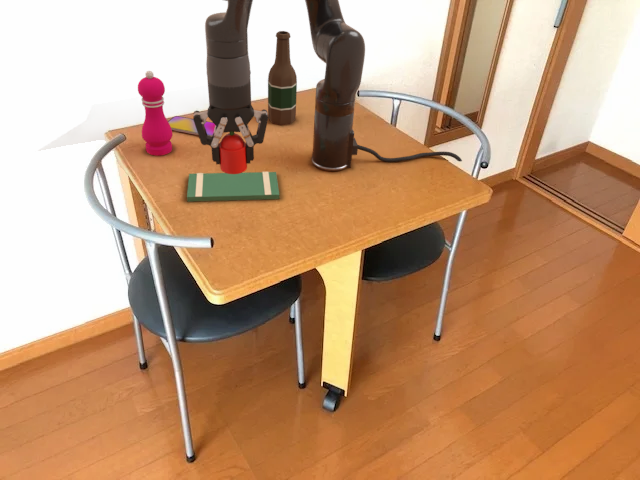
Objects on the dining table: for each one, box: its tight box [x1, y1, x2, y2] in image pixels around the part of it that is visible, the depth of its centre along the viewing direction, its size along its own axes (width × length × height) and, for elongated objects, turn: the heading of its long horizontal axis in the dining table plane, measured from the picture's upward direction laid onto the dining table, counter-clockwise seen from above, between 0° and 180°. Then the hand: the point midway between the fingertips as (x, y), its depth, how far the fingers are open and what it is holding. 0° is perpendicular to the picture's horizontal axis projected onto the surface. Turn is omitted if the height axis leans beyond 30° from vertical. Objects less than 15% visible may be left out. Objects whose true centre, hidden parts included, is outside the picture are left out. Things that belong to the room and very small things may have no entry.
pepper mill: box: [137, 70, 173, 157], centre depth 131 cm, size 7×7×20 cm
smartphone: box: [167, 115, 216, 137], centre depth 148 cm, size 7×1×15 cm
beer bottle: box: [267, 30, 298, 126], centre depth 148 cm, size 8×8×24 cm
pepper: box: [219, 131, 248, 174], centre depth 106 cm, size 5×5×8 cm
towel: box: [186, 171, 280, 203], centre depth 125 cm, size 20×10×1 cm, turn 98°
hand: (233, 161), depth 107 cm, fingers closed on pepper, 5 cm apart
